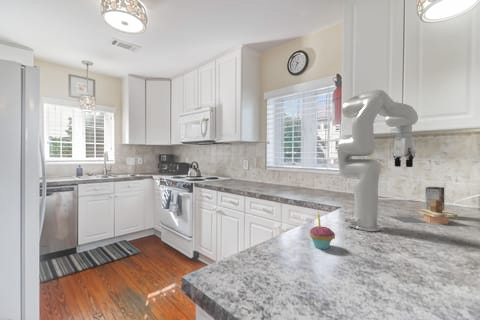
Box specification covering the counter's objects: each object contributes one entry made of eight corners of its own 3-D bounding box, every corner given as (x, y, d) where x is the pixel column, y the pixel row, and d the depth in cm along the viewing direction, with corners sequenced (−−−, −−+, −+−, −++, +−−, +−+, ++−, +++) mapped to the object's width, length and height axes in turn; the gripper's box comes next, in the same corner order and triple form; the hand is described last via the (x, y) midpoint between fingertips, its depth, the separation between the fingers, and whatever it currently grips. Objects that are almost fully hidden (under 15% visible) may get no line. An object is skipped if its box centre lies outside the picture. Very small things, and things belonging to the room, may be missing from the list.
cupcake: (304, 244, 83) (304, 211, 83) (322, 241, 86) (322, 209, 86) (321, 253, 75) (321, 217, 75) (340, 249, 78) (340, 214, 78)
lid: (434, 216, 108) (434, 201, 108) (416, 211, 119) (416, 197, 119) (457, 217, 108) (457, 202, 108) (438, 211, 119) (438, 198, 119)
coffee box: (430, 213, 132) (430, 186, 132) (444, 215, 126) (444, 187, 126) (425, 215, 126) (425, 187, 126) (439, 218, 121) (440, 188, 121)
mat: (404, 223, 111) (404, 222, 111) (388, 217, 123) (388, 216, 123) (428, 223, 111) (428, 222, 111) (411, 217, 123) (411, 216, 123)
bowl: (434, 224, 109) (434, 216, 109) (420, 219, 118) (420, 211, 118) (453, 224, 109) (453, 216, 109) (437, 219, 118) (437, 212, 118)
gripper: (387, 138, 136) (387, 166, 136) (407, 134, 119) (406, 167, 119) (400, 138, 136) (400, 166, 136) (422, 134, 119) (421, 167, 119)
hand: (403, 166), depth 128 cm, fingers open, 9 cm apart
